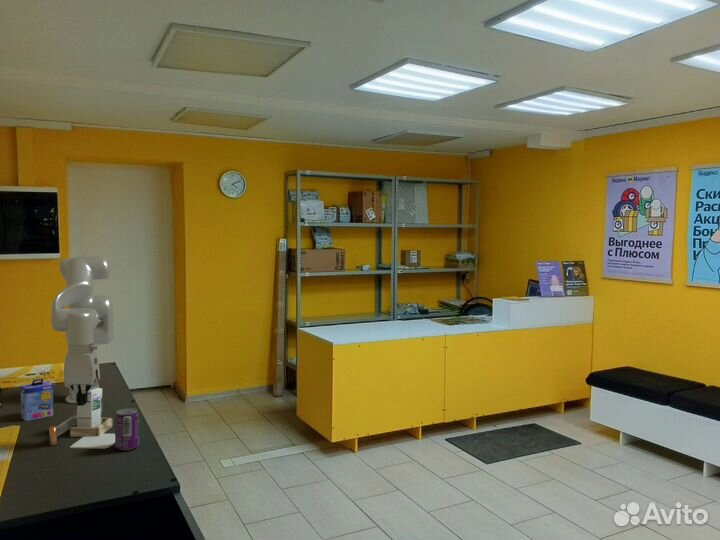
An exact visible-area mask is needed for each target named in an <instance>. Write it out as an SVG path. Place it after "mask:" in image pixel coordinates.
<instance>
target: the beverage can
mask: <svg viewBox="0 0 720 540" xmlns="http://www.w3.org/2000/svg"><path fill="white" fill-rule="evenodd" d="M139 417H140V415H139V413H138V409H137V408H133V407H129V408H127V407H126V408H122V409H121V408H120V409H118V410H116V414H115V417H114V434H115V443H114V447H115V448H116V449H117V450H119V451H124V452H125V451H131V450H134V449H135V448H137V447H138V446H140V422H139V421H140V418H139Z"/></svg>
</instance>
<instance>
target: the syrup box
mask: <svg viewBox="0 0 720 540" xmlns="http://www.w3.org/2000/svg"><path fill="white" fill-rule="evenodd" d="M76 410H77V427H93V428H97V427H98V426H100V425H101V424H102V418H103V388H101V387H94V388H91V389H90V390H89V391H88V401H87V403H86V404H85V405H83V406H81V405H80V406H77V405H76Z"/></svg>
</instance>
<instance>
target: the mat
mask: <svg viewBox="0 0 720 540" xmlns="http://www.w3.org/2000/svg"><path fill="white" fill-rule="evenodd" d="M113 444H115V433H104V434H101V435H99V436H84V437H80V439H79V440H77V441H76V442H74V443H72V445H70V446H69V448H70V449H104V450H105V449H106V448H108V449H109V448H110V447H111V446H112V445H113ZM106 450H107V449H106Z"/></svg>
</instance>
